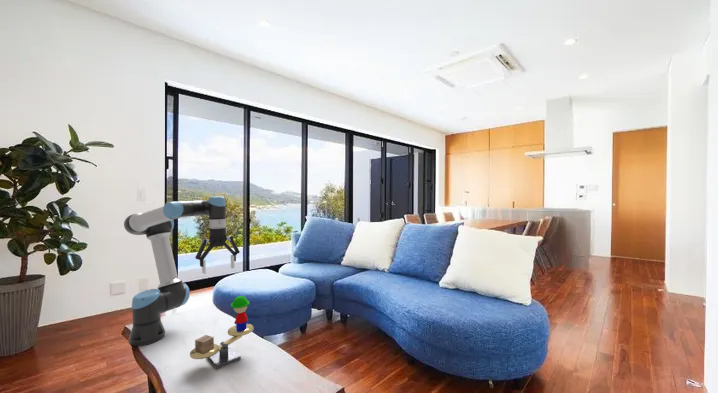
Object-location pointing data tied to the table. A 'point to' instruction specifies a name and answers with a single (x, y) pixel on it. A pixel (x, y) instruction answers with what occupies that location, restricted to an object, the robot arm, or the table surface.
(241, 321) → the toy
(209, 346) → the walnut block
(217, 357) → the balance
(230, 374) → the table surface
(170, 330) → the table surface
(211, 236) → the robot arm
